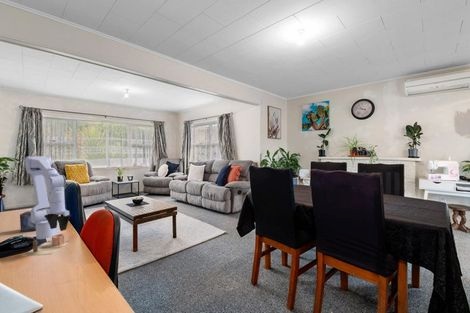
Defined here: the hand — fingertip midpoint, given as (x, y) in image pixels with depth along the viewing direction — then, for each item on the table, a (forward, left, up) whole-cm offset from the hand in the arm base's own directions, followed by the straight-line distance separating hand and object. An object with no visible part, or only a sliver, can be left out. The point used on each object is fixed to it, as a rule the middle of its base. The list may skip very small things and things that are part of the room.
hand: (58, 229), depth 106 cm
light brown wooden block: (-1, -1, -8) cm, 8 cm away
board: (+2, -3, -9) cm, 9 cm away
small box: (-28, -33, -9) cm, 44 cm away
